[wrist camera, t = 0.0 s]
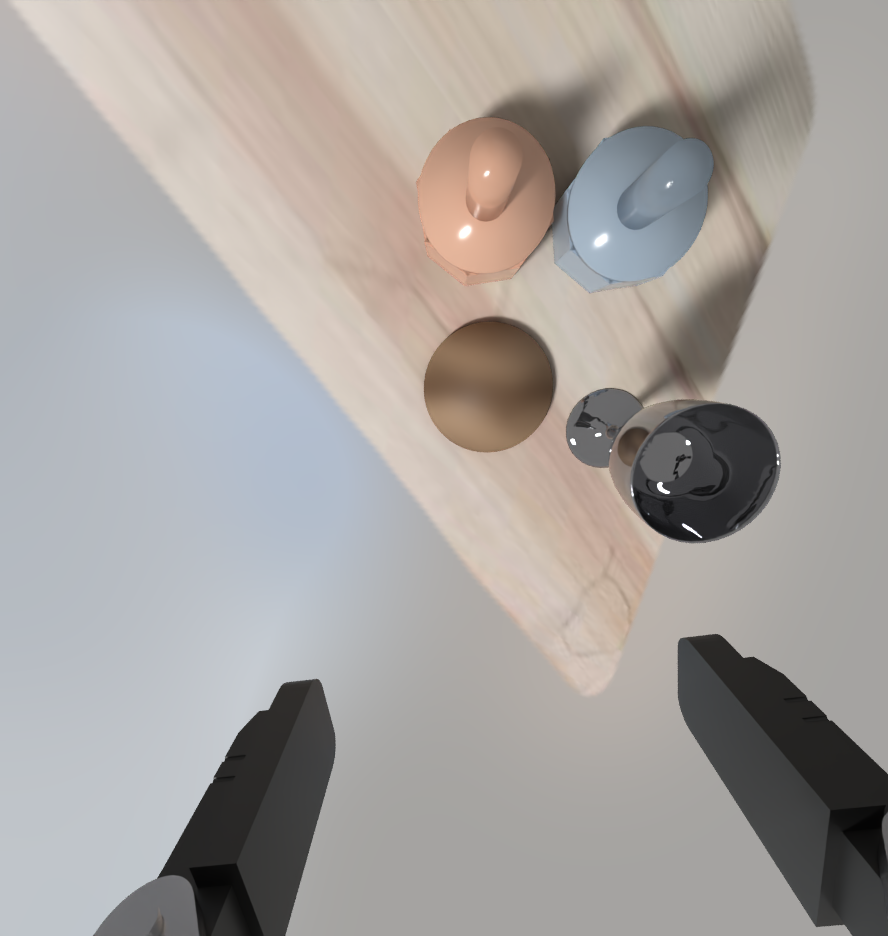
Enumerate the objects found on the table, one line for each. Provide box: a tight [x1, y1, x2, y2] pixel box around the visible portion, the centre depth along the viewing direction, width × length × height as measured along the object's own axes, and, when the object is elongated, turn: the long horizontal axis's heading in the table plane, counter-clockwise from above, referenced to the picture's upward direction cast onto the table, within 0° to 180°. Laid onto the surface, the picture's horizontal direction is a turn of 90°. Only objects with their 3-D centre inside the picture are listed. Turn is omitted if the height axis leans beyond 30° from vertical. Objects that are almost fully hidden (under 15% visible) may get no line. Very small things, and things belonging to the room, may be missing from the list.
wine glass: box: [566, 388, 781, 543], centre depth 30 cm, size 8×8×15 cm
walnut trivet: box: [424, 322, 553, 452], centre depth 36 cm, size 11×11×1 cm
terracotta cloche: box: [416, 117, 555, 286], centre depth 28 cm, size 9×9×11 cm
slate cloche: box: [552, 126, 714, 293], centre depth 28 cm, size 9×9×11 cm
